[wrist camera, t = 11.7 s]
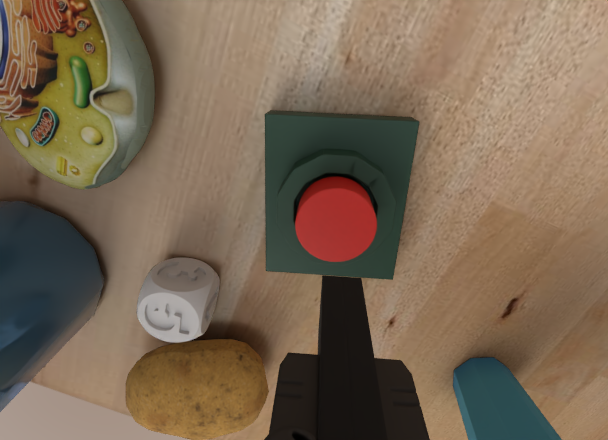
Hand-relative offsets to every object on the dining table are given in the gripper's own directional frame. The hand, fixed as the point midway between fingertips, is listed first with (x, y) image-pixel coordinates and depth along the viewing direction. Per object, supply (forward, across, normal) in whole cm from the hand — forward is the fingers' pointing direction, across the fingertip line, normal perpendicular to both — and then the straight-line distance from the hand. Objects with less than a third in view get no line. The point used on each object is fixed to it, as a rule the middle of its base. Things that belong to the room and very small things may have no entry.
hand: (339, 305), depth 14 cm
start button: (+10, 0, 0) cm, 10 cm away
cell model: (+14, -18, +8) cm, 24 cm away
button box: (+14, 0, 0) cm, 14 cm away
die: (+14, -12, -9) cm, 21 cm away
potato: (+14, -11, -18) cm, 25 cm away
